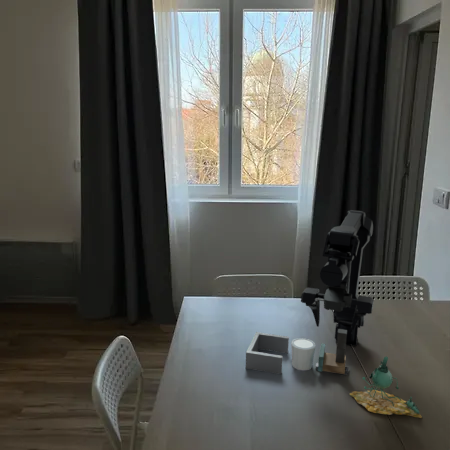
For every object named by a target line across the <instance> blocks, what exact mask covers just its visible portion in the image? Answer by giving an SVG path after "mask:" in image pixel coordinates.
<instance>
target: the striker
mask: <svg viewBox="0 0 450 450" xmlns="http://www.w3.org/2000/svg"><path fill="white" fill-rule="evenodd" d="M346 337H347V330H343V329H338V337H337V343H336V350H335V353H330V352H326V344H325V343H322V342H321V344H320V347H319V352H318V353H319V355H318V361H317V362H318V370H317V371H318V372H320V373H321V372H328V373H333V374H334V373H335V374H341V375H346V374H345V367H346V358H347V355H346V349H347V348H346V347H347V345H346Z"/></svg>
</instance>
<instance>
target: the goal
mask: <svg viewBox="0 0 450 450" xmlns="http://www.w3.org/2000/svg"><path fill="white" fill-rule="evenodd" d="M289 343H290V337H289V336H288V335H287V336H285V335H280V334H279V335H278V334H271V333H266V332H259V331H256V332H255V333H254V335H253V338H252V340H251V342H250V343H249V346H247V347H248V348H247V350H246V351H245V369H248V370H254V371H260V372H266V373H271V374H272V373H273V374H277V375H282V372H283V360H284V359H283V355H278V354H271V353H266V352H259V350H262V351H269V352H275V353H281V354H288V353H289Z"/></svg>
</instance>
